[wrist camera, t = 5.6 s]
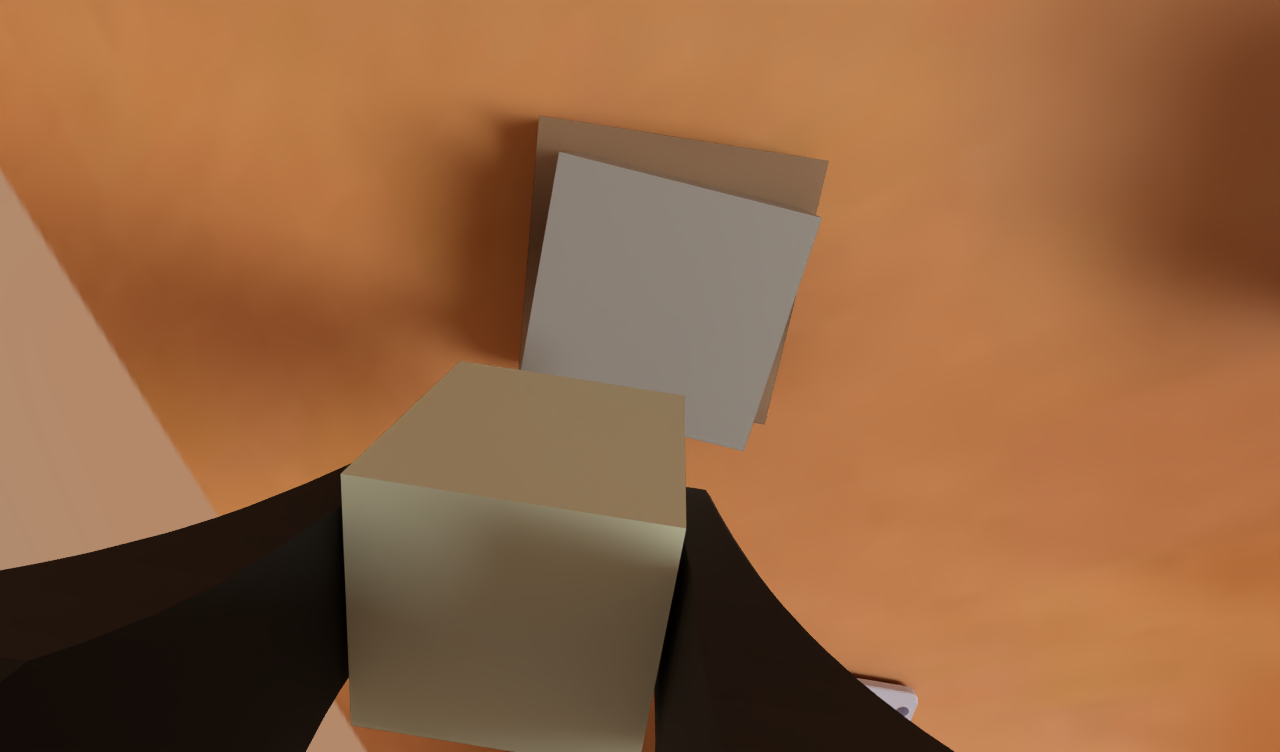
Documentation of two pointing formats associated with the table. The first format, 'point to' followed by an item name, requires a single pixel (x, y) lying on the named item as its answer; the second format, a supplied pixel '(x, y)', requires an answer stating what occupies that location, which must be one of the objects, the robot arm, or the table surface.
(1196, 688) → the table surface
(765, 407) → the base block
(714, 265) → the middle block
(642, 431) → the sage cube
